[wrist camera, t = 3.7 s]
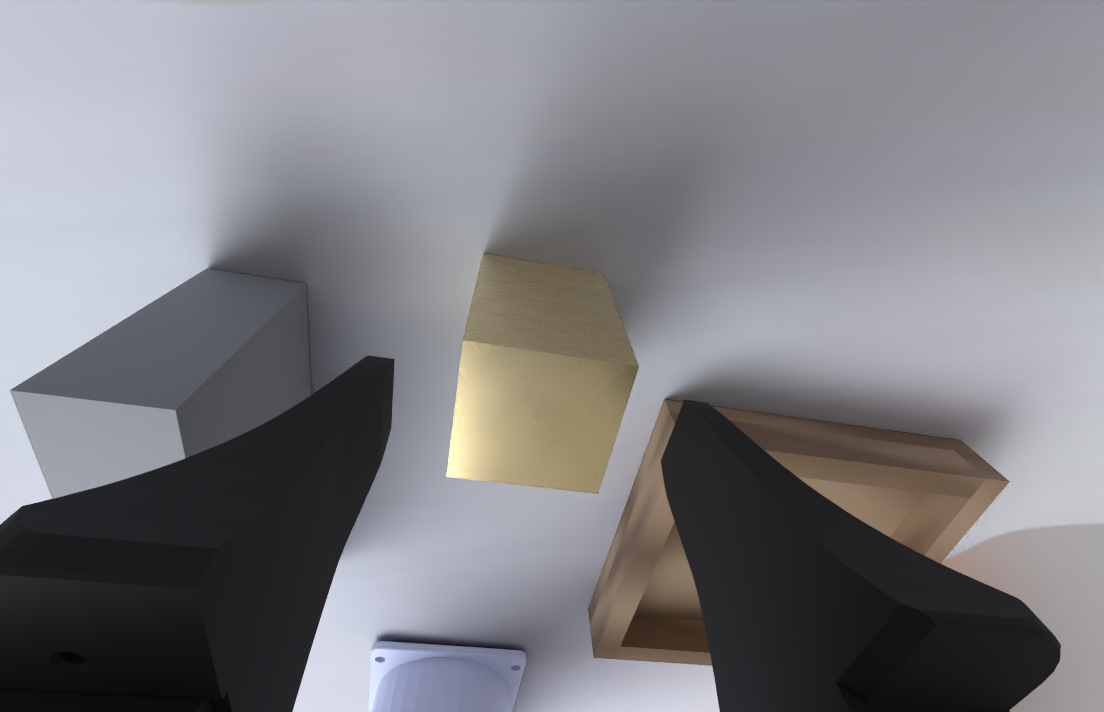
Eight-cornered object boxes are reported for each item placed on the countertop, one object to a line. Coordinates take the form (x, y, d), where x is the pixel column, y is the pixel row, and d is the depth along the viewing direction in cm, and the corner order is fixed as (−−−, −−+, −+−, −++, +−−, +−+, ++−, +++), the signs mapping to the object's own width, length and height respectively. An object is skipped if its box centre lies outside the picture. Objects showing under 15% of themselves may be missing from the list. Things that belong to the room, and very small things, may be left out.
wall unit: (319, 567, 23) (245, 745, 17) (242, 561, 23) (138, 741, 16) (306, 283, 16) (175, 410, 10) (197, 266, 16) (-8, 388, 10)
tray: (822, 627, 27) (846, 674, 25) (588, 609, 25) (593, 657, 23) (961, 440, 21) (1009, 481, 19) (664, 399, 19) (681, 439, 17)
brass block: (577, 374, 19) (597, 493, 13) (469, 359, 18) (446, 476, 13) (603, 273, 17) (638, 366, 11) (483, 252, 16) (462, 340, 11)
